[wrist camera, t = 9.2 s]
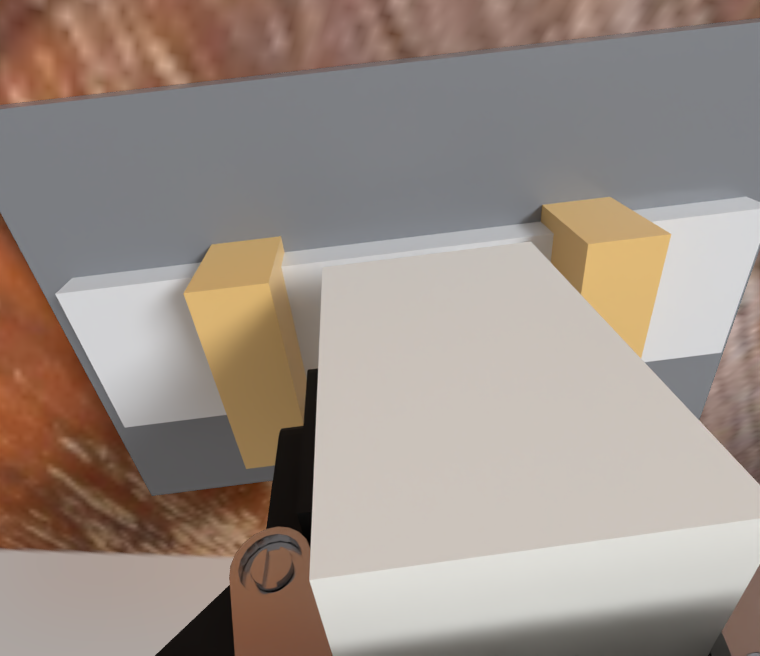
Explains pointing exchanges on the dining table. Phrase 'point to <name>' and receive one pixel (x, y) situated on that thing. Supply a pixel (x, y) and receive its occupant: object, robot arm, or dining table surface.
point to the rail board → (378, 216)
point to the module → (511, 473)
